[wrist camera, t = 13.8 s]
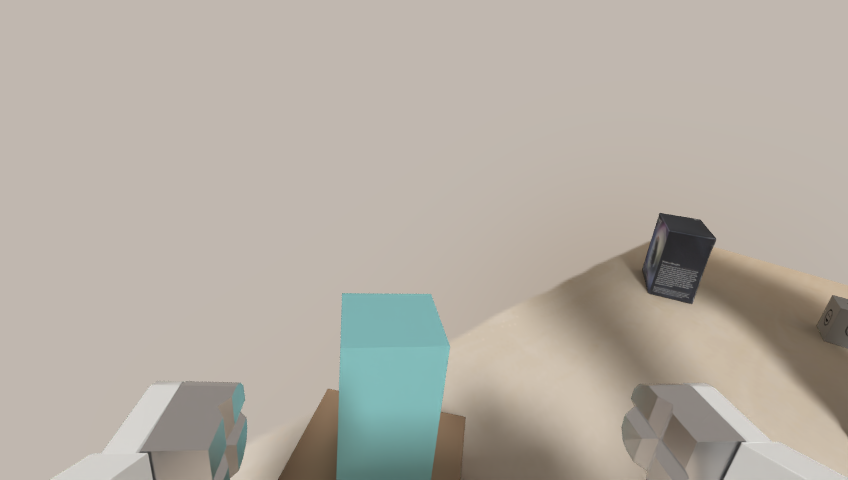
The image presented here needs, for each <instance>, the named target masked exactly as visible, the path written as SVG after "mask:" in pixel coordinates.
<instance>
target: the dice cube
mask: <svg viewBox="0 0 848 480" xmlns="http://www.w3.org/2000/svg"><path fill="white" fill-rule="evenodd" d="M817 328H818V330H819V332H820V334H821V336H822V338H823V341H826V342H829V343H832V344H835V345H838V346H842V347H845V348H848V299H845V298H841V297H838V296H834V295H832V297H831V299H830V301H829V303H828V305H827V307H826V309H825V310H824V312H823V314H822V316H821V318H820V320H819V322H818V324H817Z"/></svg>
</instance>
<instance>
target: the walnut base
mask: <svg viewBox="0 0 848 480" xmlns="http://www.w3.org/2000/svg"><path fill="white" fill-rule="evenodd" d="M338 408H339V391H336V390H332V389H328V390H327V391H326V393H325V395H324V397H323V399H322V400H321V402H320V404H319V406H318V408H317V410H316V411H315V413H314V415H313V417H312V419H311V420H310V422H309V424H308V426H307V428H306V430H305V431H304V433H303V435H302V437H301V439H300V440H299V442H298V444H297V446H296V448H295V450H294V451H293V453H292V455H291V457H290V459H289V460H288V462H287V464H286V466H285V468H284V470H283V471H282V473H281V475H280V477H279V479H278V480H336V473H337V440H338ZM465 418H466V417H463V416H458V415H453V414H448V413H443V412H441V413H440V420H439V427H438V434H437V441H436V448H435V455H434V462H433V469H432V476H431V480H460V478H461V466H462V454H463V442H464V430H465Z"/></svg>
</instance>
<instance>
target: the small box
mask: <svg viewBox="0 0 848 480" xmlns="http://www.w3.org/2000/svg"><path fill="white" fill-rule="evenodd" d="M715 242H716V238H715V237H714V235H713V234H712V233H711V232H710V231H709V230H708V229H707V227H706V226H705V225H704V224H703V222H702V221H701V220H698V219H693V218H687V217H681V216H675V215H669V214H663V213H660V214H659V217H658V220H657V223H656V227H655V230H654V233H653V236H652V239H651V242H650V246H649V249H648V252H647V255H646V258H645V262H644V265H643V268H642V270H643V274H644V278H645V282H646V286H647V290H648V293H649V294H653V295H657V296H661V297H665V298H669V299H674V300H678V301H682V302H686V303H690V304H692V303H693V301H694V298H695V295H696V292H697V289H698V286H699V283H700V281H701V278H702V275H703V272H704V269H705V266H706V264H707V261H708V258H709V256H710V253H711V251H712V249H713V246H714V244H715Z"/></svg>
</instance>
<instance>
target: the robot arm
mask: <svg viewBox="0 0 848 480" xmlns="http://www.w3.org/2000/svg"><path fill="white" fill-rule="evenodd" d="M631 400H632V402H633V404H634V407H633V408H632V409H631V410H630V411H629V412H628V413H627V414H626V415H625V417H624V421H623V424H622V436H623V442H624V445H625V447H626V450H627V452H628V454H629V455H630V457H631V458H632V460H633V462H635V463H636V464H638V465H639V466H640V467H642V468H643V469H645V470H646V471H647V474H646V480H848V478H847V477H846V476H844V475H842V474H840V473H838V472H836V471H834V470H832V469H830V468H828V467H826V466H825V465H823V464H821V463H819V462H817V461H815V460H813V459H811V458H809V457H807V456H805V455H803V454H802V453H800V452H798V451H796V450H794V449H792V448H790V447H788V446H786V445H784V444H782V443H781V442H772V441H771V440H770V439H769V438H768V437H767V436H766V435H765V434H764V433H762V432H761V431H760V430H759V429H758V428H757V427H756V426H755V425H754V424H753V423H752V422H751V421H750V420H749V419H747V418H746V417H745V416H744V415H743V414H742V413H741V412H740V411H739V410H738V409H737V408H736V407H735V406H734V405H733V404H731V403H730V402H729V401H728V400H727V399H726V398H725V397H724V396H723V395H722V394H721V393H720V392H719V391H718V390H717V389H715V388H714V387H713V386H711V385H709V384H706V383H683V384H639V385H638V386H637V387H636V388H635V389H634V391H633V394H632V397H631ZM244 401H245V395H244V387H243V385H242V384H241V383H232V382H231V383H230V382H229V383H228V382H192V381H186V382H172V381H157V382H156V383H154V384H152V385H150V386H149V388H148V389H147V391H146V392H145V393H144V394H143V396H142V397H141V399H140V400H139V401H138V403H137V404H136V406H135V407H134V408H133V410H132V411H131V413H130V414H129V416H128V417H127V418H126V420H125V421H124V422H123V424H122V425H121V427H120V428H119V429H118V431H117V432H116V434H115V435H114V436H113V438H112V439H111V440H110V442H109V443H108V445H107V446H106V448H105V449H104V450H103V452H102V453H101V454H90V455H89V456H87V457H85V458H84V459H82V460H81V461H79V462H77V463H76V464H74V465H72V466H71V467H69V468H68V469H66V470H64V471H63V472H61V473H60V474H58V475H56V476H55V477H53V478H51V479H50V480H230V478H231V477H232V476H233V475H234V474H236V473H237V472H238V471H239V468H240V465H241V462H242V459H243V455H244V450H245V445H246V438H247V419H246V417H245V416H244V415H243V414H242V413H241V412H240V411H241V408H242V406H243V403H244Z"/></svg>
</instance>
